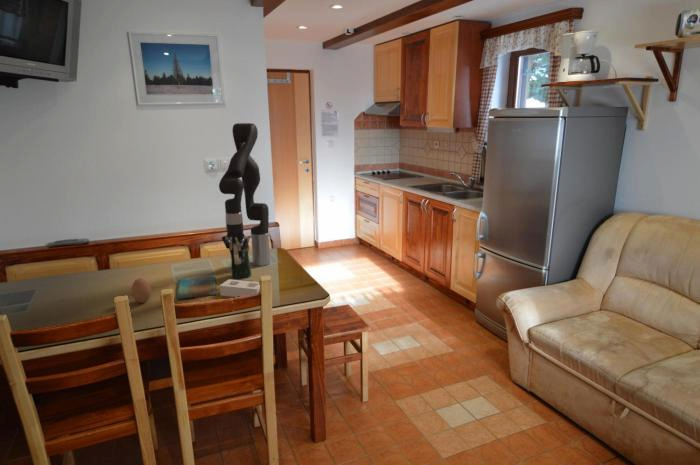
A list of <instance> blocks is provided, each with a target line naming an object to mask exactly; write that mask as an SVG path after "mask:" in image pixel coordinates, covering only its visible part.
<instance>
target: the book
mask: <svg viewBox="0 0 700 465" xmlns="http://www.w3.org/2000/svg"><path fill="white" fill-rule="evenodd" d="M176 289H177V290H176V292H177V294H176V300H177V301H179V302H181V301H188V300H195V299H196V298H197V299H198V298H203V297H211V296H217V282H216V277H215V276H214V275H206V276H201V277H195V278H180V279H177V288H176Z"/></svg>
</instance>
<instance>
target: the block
mask: <svg viewBox="0 0 700 465" xmlns="http://www.w3.org/2000/svg"><path fill="white" fill-rule="evenodd" d="M241 280H242V279H241ZM241 280H234V279H231V278H230V279H227V280H226V281H224V282H223V283H221V284H220V285H219V293H220V294H219V295H220V296H224V297H232V298H238V297H237V296H242V295H249V294H255V293H258V292H259V290H260V285H259V281H253V280H251V281H241Z"/></svg>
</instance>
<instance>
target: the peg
mask: <svg viewBox="0 0 700 465" xmlns="http://www.w3.org/2000/svg"><path fill="white" fill-rule="evenodd" d="M239 244H240V243H239ZM233 251H234V263H235V264H241V258H239V252H238V251H239V249H238V246H237V244H236V243H233Z"/></svg>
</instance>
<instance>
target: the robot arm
mask: <svg viewBox="0 0 700 465" xmlns="http://www.w3.org/2000/svg"><path fill="white" fill-rule="evenodd" d="M258 133H259V132H258V128H257V126H256V124H254V123H252V122H251V123H250V122H249V123H247V122H246V123H245V122H243V123H240V122H238V123H234V124H233V126H232V138H233V142H234V146H235V150H236V152H235V153H234V154H233V155H232V157H231V159H230V161H229V165H228V168H227V170H226V171H225V173H224V174H223V175H222V177H221V179H220V181H219V184H218V189H219V191H220V193H221V194H224V195H233V198H228V199H226V200H225V202H224V206H225V207H224V208H225V227H226V235H223V236H222V237H221V239H222V241H223V244H224V246H225V248H226V249H228V250H229V249H230V250H231V253H230V257H231V256H232V258H234V251H233V243H236V244H237V246H238V249H239V251H238V252H239V258H242V257H243V250H244V249H246V248H247V245H248V244H249V242H251V255H252V258H251V259H252V264H253V265H254V266H256V267H257V266H258V267H263V266H264V267H265V266H267V265H270V263H271V254H270V253H271V252H270V237H269V236H270V235H269V234H270V233H269V227H270V226H269V225H270V224H269V221H270V220H269V216H270V215H269V214H270V213H269V206H268V205H267V204H268V203H267V204H266V203H265V202H264V203H263V202H262V203H261V202H260V203H259V202H255V200H254V199H255V198H254V196H255V193H256V190H257V189H258V186H259V184H260V182H261V174H260V173H261V172H260V167H259V165H258V164H257V162H256V161H255V159H254V158H253V157H252V156H251V152H252V150H253V148H254V146H255V144H256V142H257V140H258ZM243 192H244V202H245V211H246V212H245V213H246V216H247V219H248V220H249V221H256V222H257V221H259V224H257V225H254V226H253V227H252V226H251V228H250V237H249V236H246V235H245V233H244V222H243V220H244V219H243V213H242V197H243ZM242 240H244V244H243V242H242ZM250 240H251V241H250ZM239 243H240V244H239Z"/></svg>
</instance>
